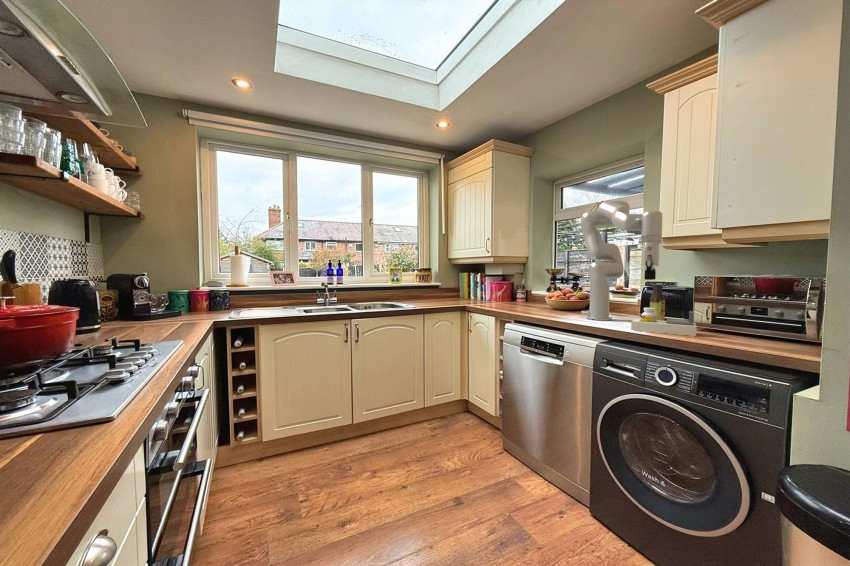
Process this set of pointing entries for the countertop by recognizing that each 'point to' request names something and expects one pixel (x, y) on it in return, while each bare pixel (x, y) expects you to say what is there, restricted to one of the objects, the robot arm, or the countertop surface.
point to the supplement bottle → (649, 315)
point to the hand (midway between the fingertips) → (650, 279)
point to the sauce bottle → (658, 302)
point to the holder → (663, 327)
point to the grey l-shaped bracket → (682, 320)
